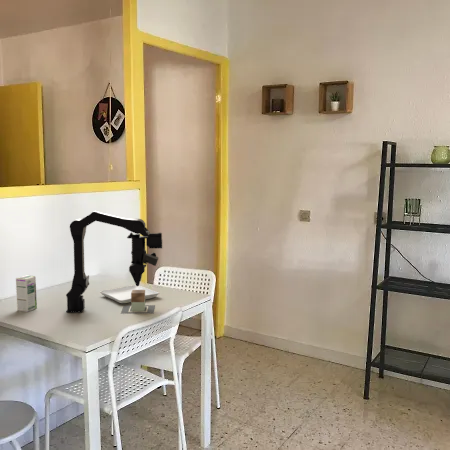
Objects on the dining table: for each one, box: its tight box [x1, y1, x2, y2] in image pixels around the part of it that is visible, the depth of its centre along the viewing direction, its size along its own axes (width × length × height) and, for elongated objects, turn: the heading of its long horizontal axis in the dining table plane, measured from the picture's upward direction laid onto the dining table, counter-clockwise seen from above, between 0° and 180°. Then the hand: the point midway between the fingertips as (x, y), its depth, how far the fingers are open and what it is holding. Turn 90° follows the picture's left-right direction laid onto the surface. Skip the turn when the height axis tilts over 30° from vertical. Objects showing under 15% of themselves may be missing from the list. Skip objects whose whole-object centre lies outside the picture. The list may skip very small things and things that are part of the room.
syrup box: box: [15, 274, 38, 313], centre depth 209 cm, size 6×6×14 cm
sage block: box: [130, 300, 146, 311], centre depth 212 cm, size 6×6×4 cm
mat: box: [120, 304, 156, 315], centre depth 212 cm, size 14×12×1 cm
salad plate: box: [99, 284, 160, 305], centre depth 232 cm, size 21×21×3 cm
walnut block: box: [130, 290, 146, 303], centre depth 212 cm, size 6×6×4 cm
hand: (138, 283), depth 211 cm, fingers open, 8 cm apart
